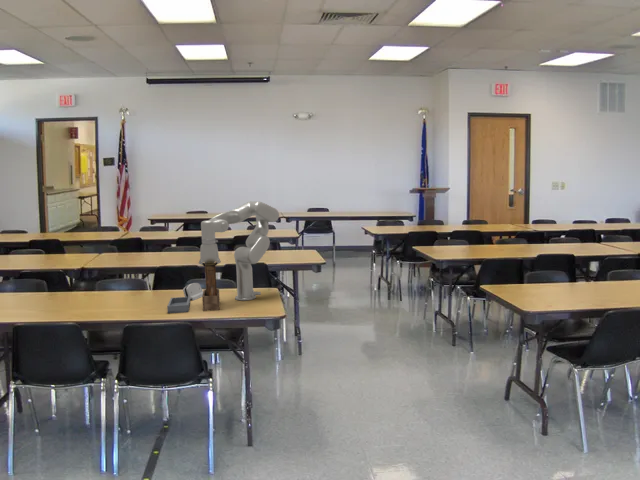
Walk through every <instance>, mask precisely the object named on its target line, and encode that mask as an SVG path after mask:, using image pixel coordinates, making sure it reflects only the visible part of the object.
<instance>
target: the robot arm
mask: <svg viewBox="0 0 640 480" xmlns="http://www.w3.org/2000/svg"><path fill="white" fill-rule="evenodd" d="M253 216H255V221H256V222H255V223H256V225H255V227H254V229H253V230H252V231H251V233H250V234H249V235H248V237H247V238H246V240H245V245H246V246H239V247H237V248H236V249H235V250H234V253H233V256H234V257H233V258H234V262H235V267H236V268H235V269H236V288H237V289H236V291H237V294H236V295H235V298H234V299H235V300H236V301H251V300H252V301H253V300H255V299H256V298H257V297H256V296H261V295H262V293H261V291H255V290H254V281H253V279H254V278H253V267H252V265H255V264H257V263H259V261H260V260H261V259H262V258H263V257H264V255H265V254H266V252H267V250H268V249H269V248H270V246H271V244H270V243H271V241H270V240H271V239H270V238H269V236H268V233H269V229H270V228H269V223H274V222H277V221H278V219H279V217H280V213H279V211H278V210H277V209H276V208H275V207H273V206H271V205H269V204H267V203H264V202H262V201H248V202H246V203H243V204H242V205H239V206H238V207H236V208H234V209H231V210H229V211H225V212H222V213H220V214H217V215H215V216H213V217H212V218H210V219H208V220H203V221H201V222H200V229H201V230H200V231H201V245H200V249H199V250H200V252H199V253H200V255H199V256H200V259H199V260H198V261H199V262H198V264H199V265H201V266H203V267H204V268H205V263H206V264H207V262H212V264H214V263H215V267H216V266H217V265H218V264H220V263H221V261H222V260H221V258H220V257H219V256H220V255H219V249H218V244H217V243H219V239H216V233H226V232H227V231H228V229H229V226H230V225H234V224H238V223H242V222H243V221H245V220H247V219H249V218H251V217H253Z"/></svg>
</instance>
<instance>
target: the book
mask: <svg viewBox="0 0 640 480" xmlns="http://www.w3.org/2000/svg"><path fill="white" fill-rule="evenodd" d="M204 263H205V262H204ZM216 269H217V268H216V266H215V263H214V264H212V262H207V264H206V263H205V267H204V275H205V278H204V279H205V289H206V296H217V289H218V288H217V273H216V271H217V270H216Z"/></svg>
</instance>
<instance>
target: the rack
mask: <svg viewBox="0 0 640 480" xmlns="http://www.w3.org/2000/svg"><path fill="white" fill-rule="evenodd" d="M202 291H203V296H202V297H201V299H202V311H203V312H207V310H210V311H220V307H219V306H221V305H220V304H221V303H220V301H221V300H220V288H217V296H206V288H204V289H202Z"/></svg>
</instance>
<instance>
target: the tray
mask: <svg viewBox="0 0 640 480" xmlns="http://www.w3.org/2000/svg"><path fill="white" fill-rule="evenodd" d="M190 307H191V299H190V297H185V296H182V297H181V296H179V297H170V299H169V301H168V304H167V308H166V309H167V314H181V313H182V314H183V313H189V310H190Z"/></svg>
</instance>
